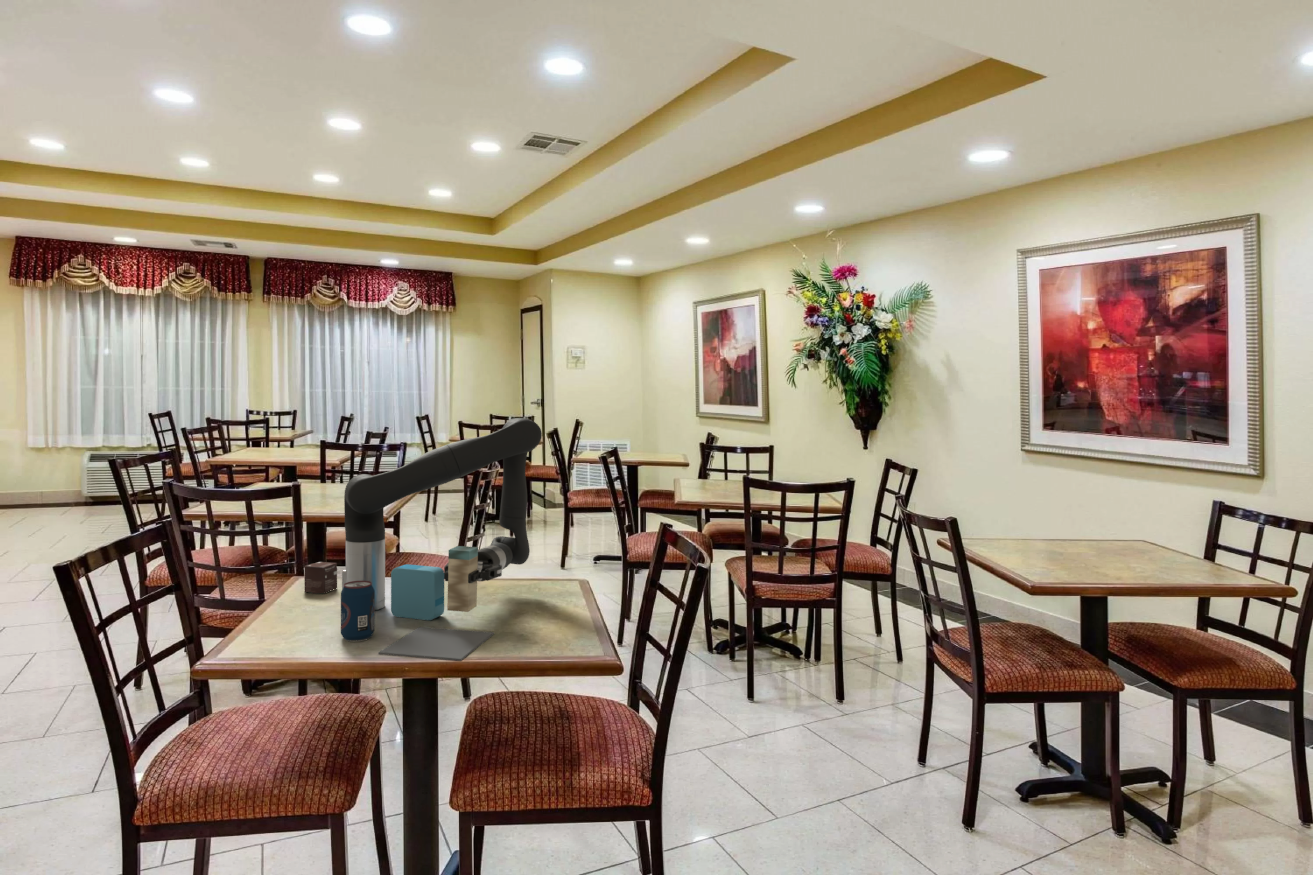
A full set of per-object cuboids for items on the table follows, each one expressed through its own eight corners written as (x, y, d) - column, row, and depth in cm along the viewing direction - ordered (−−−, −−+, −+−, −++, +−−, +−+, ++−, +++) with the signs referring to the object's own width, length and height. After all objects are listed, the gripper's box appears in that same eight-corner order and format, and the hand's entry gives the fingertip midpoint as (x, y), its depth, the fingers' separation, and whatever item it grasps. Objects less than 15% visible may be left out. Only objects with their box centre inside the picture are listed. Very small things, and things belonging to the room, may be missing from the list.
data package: (444, 616, 186) (444, 567, 185) (434, 621, 181) (434, 571, 181) (401, 611, 189) (401, 563, 188) (390, 616, 185) (390, 567, 184)
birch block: (447, 610, 176) (448, 549, 175) (456, 604, 181) (457, 545, 180) (467, 611, 175) (469, 551, 174) (476, 606, 180) (477, 547, 179)
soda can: (336, 636, 169) (336, 582, 168) (369, 630, 173) (369, 578, 172) (345, 644, 163) (345, 588, 163) (378, 638, 168) (378, 584, 167)
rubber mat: (378, 654, 158) (378, 652, 158) (419, 628, 176) (419, 626, 175) (461, 660, 155) (461, 658, 155) (494, 633, 173) (494, 632, 173)
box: (323, 594, 203) (323, 567, 203) (303, 593, 204) (303, 565, 204) (337, 589, 209) (337, 562, 209) (318, 587, 210) (318, 561, 210)
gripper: (459, 545, 192) (428, 559, 176) (514, 549, 190) (488, 563, 173) (459, 575, 193) (428, 591, 176) (513, 579, 190) (487, 596, 174)
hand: (458, 577), depth 175 cm, fingers closed on birch block, 5 cm apart
